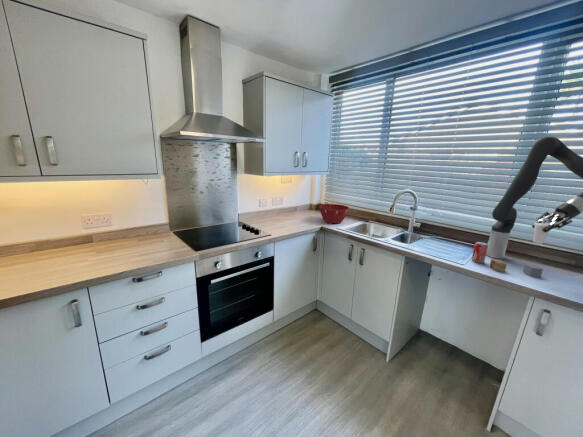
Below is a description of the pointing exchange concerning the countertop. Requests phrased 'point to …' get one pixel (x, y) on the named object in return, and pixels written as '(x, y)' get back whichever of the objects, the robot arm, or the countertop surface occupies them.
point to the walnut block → (498, 265)
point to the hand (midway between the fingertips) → (538, 229)
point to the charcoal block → (532, 270)
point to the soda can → (479, 252)
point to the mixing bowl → (333, 212)
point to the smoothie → (540, 232)
